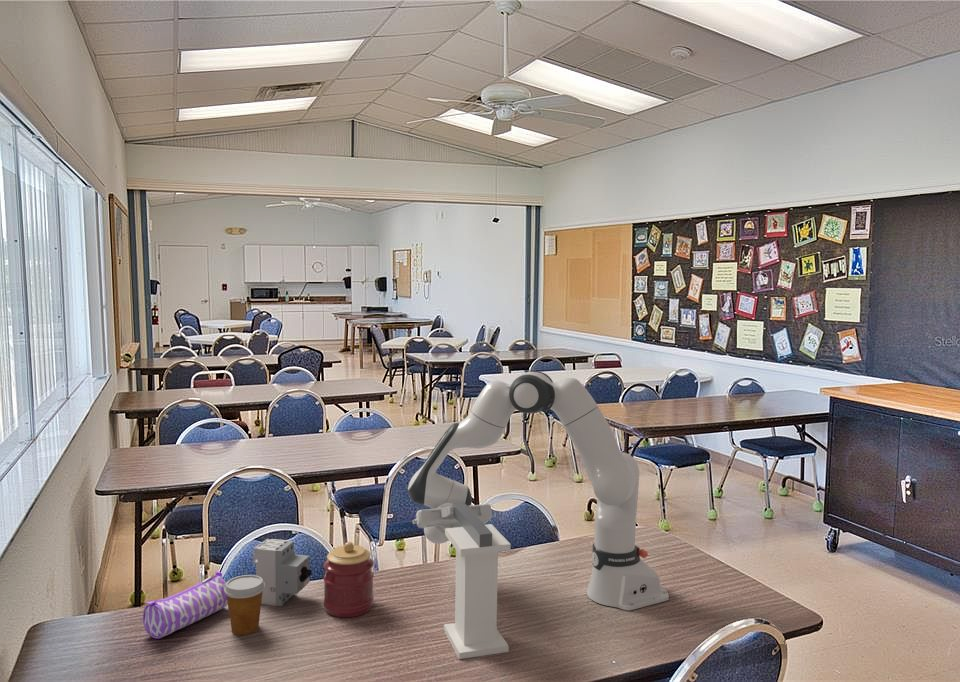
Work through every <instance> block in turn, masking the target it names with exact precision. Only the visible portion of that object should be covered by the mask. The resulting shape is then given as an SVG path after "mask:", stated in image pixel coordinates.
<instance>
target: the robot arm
mask: <svg viewBox="0 0 960 682" xmlns="http://www.w3.org/2000/svg"><path fill="white" fill-rule="evenodd" d="M548 410H551V411H553V412H554V414H555V415H556V416H557V418H558V419H559V421H560V423H561V425H562V426H563V428H564V430H565V432H566V433H567V435H568V437H569V438H570V440H571V442H572V444H573V445H574V447H575V449H576V451H577V454H578V455H579V457H580V460H581V463H582V465H583V468H584V469H585V473H586V474H587V477H588V479H589V481H590V483H591V486H592V490H593V492H594V493H593V494H594V495H595V497H596V499H597V500H596V506H595V507H596V509H595V515H594V538H593V539H594V540H593V543H592V549H591V550H592V553H591V563H592V569H591V575H590V579H589V584H588V587H587V590H586V595H587V597H588V598H589V599H590V600H592V601H593V602H595V603H598V604H600V605H604V606H607V607H612V608H619V609H620V610H623V611H634V610H637V609H640V608H644V607H647V606H651V605H656V604H659V603H660V604H661V603H663V602H666V601H669V599H670V598H669V597H670V596H669V593H668V591H667V590H666V588H665V587H663V586H662V585H661V581H660V576H659V574H658V573H657V571H655V570H654V568H652V566H650V565H648V564H647V563H646V562H645V561H644V560H643V559H646V558H647V557H648V555H649V554H648V552H647V550H645V549H644V548H640V547H639V546H638V545H636V530H637V529H636V527H637V526H636V524H637V510H638V500H639V499H638V498H639V483H640V469H639V464H638V463H637V460H636V459H635V458H634V457H633V456H632V455H631V454H629V453H627V452H624V451H621V449H620V446H619V444H618V442H617V440H616V436H615V435H614V431H613V429H612V428H611V426H610V425H609V422H608V421H607V419H606V417H605V416H604V414H603V411H601V409H600V407H599V405H598V404H597V402H596V401H595V399H594V398H593V396H592V395H591V393H589V391H588V390H587V388H586V387H585V385H583V383H582V382H581V381H580V380H578V379H576V378H574V377H568V378H567V377H566V378H564V379H560V380H558V381H557V382H554V381H553V380H552V378H551V377H550V376H549V375H548V374H547V373H545V372H543V371H538V370H536V371H528V372H525V373H523V374H521V375H519V376H518V377H516V378H515V379H514V380H513V381H512V382H511V384H509V383H506V382H504V381H501V380H493V381H492V380H491V381H489V382H488V383H487V384H486V385H485V386H484V387H483V388H482V389H481V392H480V393H479V394H478V396H477V397H476V399H475V402H474V403H473V406H472V407H471V410H470V411H469V413H468V415H467V416H466V417H465V418H464V419H463V420H461V421H460V422H454V423H453V424H451V425H450V426H449V427H448V428H447V430H446V431H445V432H444V434H443V435H442V436H441V437H440V439H439V440H438V442H437V444H436V445H435V446H434V448H433V449H432V451H431V452H430V453H429V455H428V456H427V458H426V459H425V461H424V462H423V463H422V465H421V466H420V467H419V469H418V470H417V471H416V472H415V473H414V474H413V475H412V477H411V478H410V480H409V483H408V486H407V493H408V495H409V496H408V497H409V498H410V500H411V501H412V502H413V503H415V504H418V505H421V506H425V507H428V508H427V509H426V508H425V509H420V510H419V509H418V510H417V512H416V515H415V517H416V518H414V519H413V520H412V521H411V522H412V524H413V525H417V528H420V529H423V533H424V536H425V538H426V539H427V540H428V541H429V542H431V543H432V544H437V545H442V544H445V543H447V542H448V541H449V539H448V538H447V536H446V535H445V528H455V527H462V525H461V524H460V523H459V522H458V520H457V519H456V518H455V517H454V516H453V515H454V514H455V507H452V503H454V502H464V503H465V504H466V505H467V506H468V507H469V508H470V510H471V511H472V512H473V513H474V514H475V515H476V516H477V517H478V518H479V519H480V521H481V522H482V523H483V524H484V525H486V523H487V522H489V521H490V520H491V519H492V517H493V512H492V506H491V504H489V503H486V504H485V503H483V504H474V505H473V504H472V502H473V496H472V493H471V489H470V487H469V486H468V485H466V484H463V483H462V482H459V481H457V480H454V479H451V478H449V477H445V476H444V475H441V474H440V473H438V472H437V470H438V469H439V467H440V466H441V464H442V463H443V462H444V460H445V458H446V457H447V456H448V454H449V453H450V452H451V451H453V450H456V449H463V448H465V449H466V448H470V449H483V448H489V447H491V446H493V445H495V444H496V443H497V442H498V441H499V440H500V438H501V437H502V435H503V433H504V432H505V429H506V427H507V425H508V423H509V421H510V419H511V416H513V414H514V413H515V411H518V412H519V413H522V414H535V413H536V414H537V413H541V412H545V411H548ZM449 542H450V541H449ZM641 558H642V559H641Z"/></svg>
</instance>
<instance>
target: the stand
mask: <svg viewBox="0 0 960 682" xmlns="http://www.w3.org/2000/svg"><path fill="white" fill-rule="evenodd" d="M484 525H485V526H486V527H487V528H488V529H489V530H490V531H491V533H492V546H488V547H479V546H478V545H477V544H476V542H475V541H474V540H473V539H472V538H471V536H470V535H469V534H468V533H467V531H466V530H465V529H464V528H463V527H455V528H445V535H446V536H447V538H448V539H449V542H450V543H451V545H452V546H453V547H454V548H455V588H454V589H455V590H454V591H455V593H454V594H455V596H454V597H455V600H454V602H455V605H454V606H455V607H454V623H452V622H451V623H444V624H443V631H445V632H444V634H445V635H446V638H447V639H448V641H449V642H451V643H450V645H451V644H452V645H451V646H452V648H453V650H454V652H455V654H456V656H457V658H458V659H459V660H463V659H464V660H465V659H469V658H476V657H483V656H490V655H495V654H502V653H509V650H510V649H509V648H510V647H509V644H508V643H507V641H506V640H505V639H504V637H503V635H502V634H501V632H500V631H499V629H498V628H497V626H498V625H497V624H498V620H497V619H498V581H499V580H498V576H499V575H498V574H499V570H498V569H499V568H498V565H499V552H500V553H501V552H509V551H511V549H512V548H511V545H512V544H511V543H510V542H509V541H508V540H507V539H506V538H505V536H504V535H502V533H500V531H499V530H497V528H496V526H494V525H493V524H492V523H488V524H484Z"/></svg>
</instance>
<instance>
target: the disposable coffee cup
mask: <svg viewBox="0 0 960 682" xmlns="http://www.w3.org/2000/svg"><path fill="white" fill-rule="evenodd" d="M264 587H265V584H264V582H263V579H262V578H261V577H259V576H256V574H255V575H254V574H245V575H244V574H243V575H239V576H235V577H233V578H230V579H229V580H228V581H226V587H225V588H224V592H225V594H226V596H227V603H228V605H227V608H228V615H229V616H228V617H229V620H230V628H231V629H230V630H231V633H233V634H234V635H236V636H247V635H250V634H251V635H252V634H253V633H255V632H257V631H258V629H259V626H260V618H261V609H262V604H261V601H262V593H263V589H264Z"/></svg>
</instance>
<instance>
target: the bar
mask: <svg viewBox="0 0 960 682" xmlns="http://www.w3.org/2000/svg"><path fill="white" fill-rule="evenodd" d="M452 507H455V514H454V515H453V516H454V517H455V518H456V519H457V520H458V522H459V523H460V524H461V525H462V527H463V528H464V529H465V530H466V531H467V533H468V534H469V535H470V536H471V538H472V539H473V540H474V541H475V542H476V544H477V545H478V546H479V547H488V546H492V533H491V531H490V530H489V529H488V528H487V527H486V526H485V525H486V524H483V523H482V522H481V521H480V519H479V518H478V517H477V516H476V515H475V514H474V513H473V512H472V511H471V510H470V508H469V507H468V506H467V505H466V504H465V503H464V502H454V503H452Z"/></svg>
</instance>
